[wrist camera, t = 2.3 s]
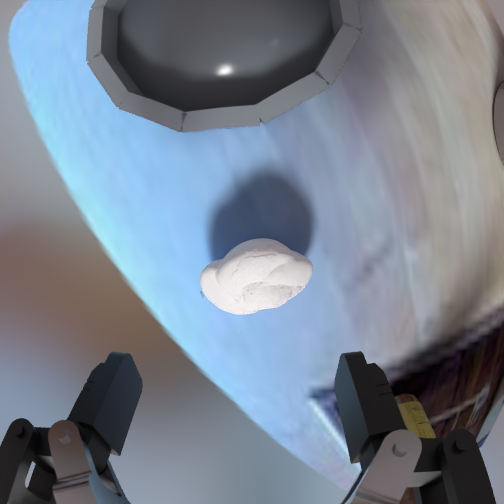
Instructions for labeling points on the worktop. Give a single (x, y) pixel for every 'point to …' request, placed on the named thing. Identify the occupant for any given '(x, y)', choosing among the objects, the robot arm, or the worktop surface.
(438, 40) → the worktop surface
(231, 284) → the dumpling
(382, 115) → the worktop surface
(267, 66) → the round dish
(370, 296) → the worktop surface
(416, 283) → the worktop surface
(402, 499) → the sauce bottle
